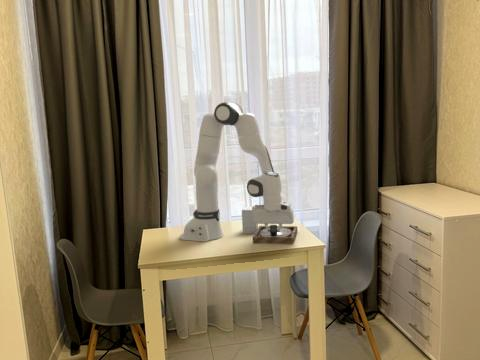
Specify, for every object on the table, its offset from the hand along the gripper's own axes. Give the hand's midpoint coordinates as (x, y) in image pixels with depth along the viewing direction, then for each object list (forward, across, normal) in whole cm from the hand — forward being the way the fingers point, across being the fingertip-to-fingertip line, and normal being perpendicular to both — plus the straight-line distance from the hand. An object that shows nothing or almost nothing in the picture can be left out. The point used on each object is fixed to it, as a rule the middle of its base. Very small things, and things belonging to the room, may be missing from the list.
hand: (273, 232), depth 243 cm
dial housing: (+5, 0, +6) cm, 8 cm away
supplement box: (+5, -15, +16) cm, 23 cm away
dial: (+4, 0, +6) cm, 7 cm away
